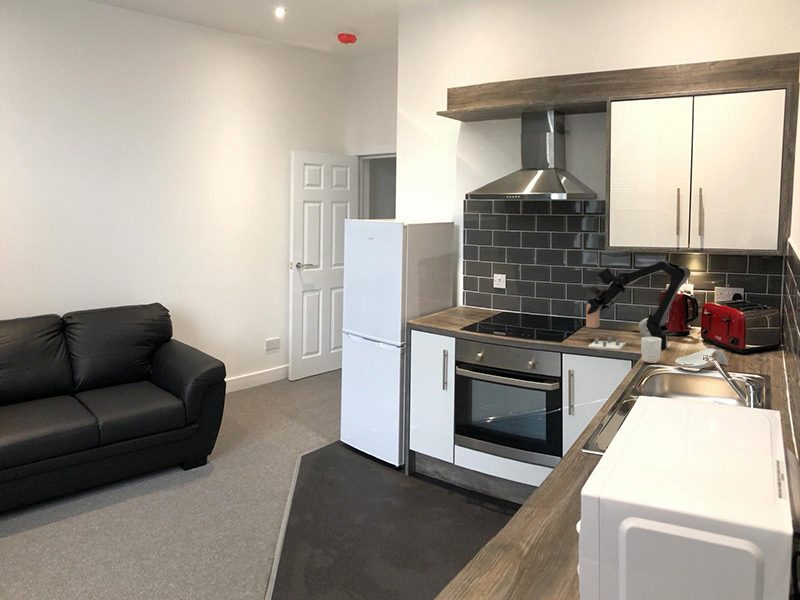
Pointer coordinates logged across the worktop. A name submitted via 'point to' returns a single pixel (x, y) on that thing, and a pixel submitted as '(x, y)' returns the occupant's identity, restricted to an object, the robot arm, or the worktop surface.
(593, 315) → the terracotta block
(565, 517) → the worktop surface
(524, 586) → the worktop surface
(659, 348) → the white cup
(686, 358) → the spoon rest
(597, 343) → the peg board
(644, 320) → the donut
